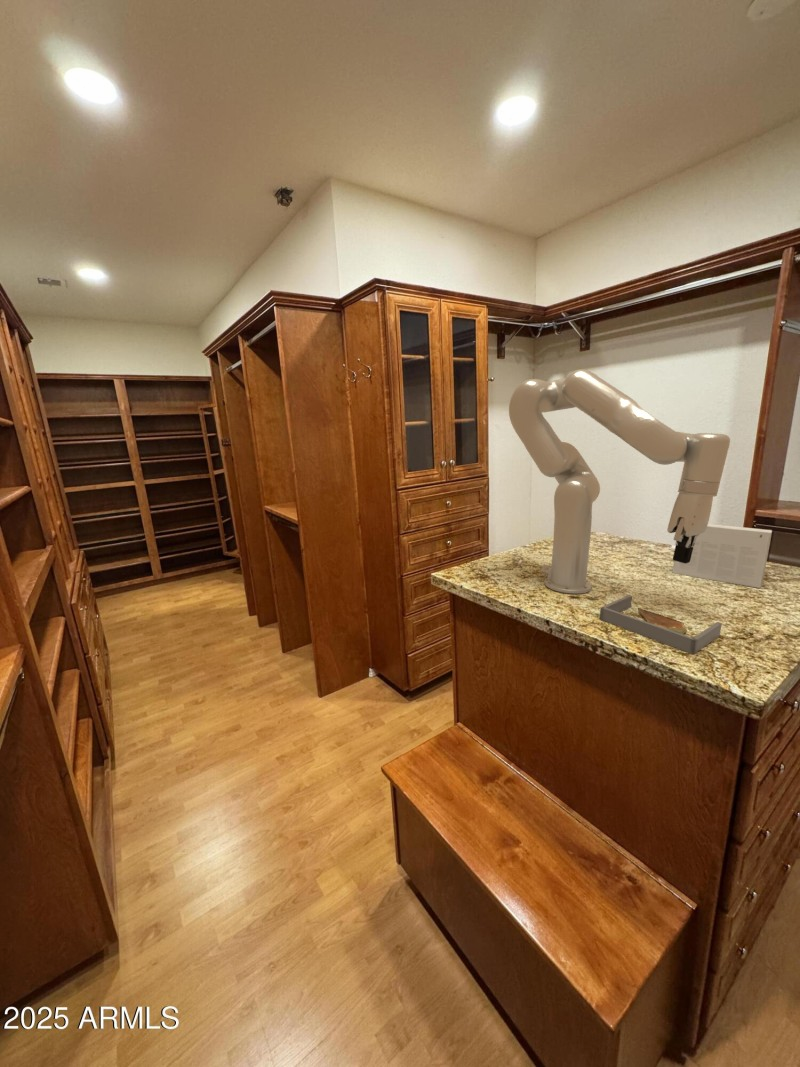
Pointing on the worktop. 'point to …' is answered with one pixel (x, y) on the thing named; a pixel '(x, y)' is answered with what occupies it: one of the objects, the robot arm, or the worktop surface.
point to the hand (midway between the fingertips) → (681, 561)
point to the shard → (662, 621)
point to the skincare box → (729, 555)
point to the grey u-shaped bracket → (656, 628)
